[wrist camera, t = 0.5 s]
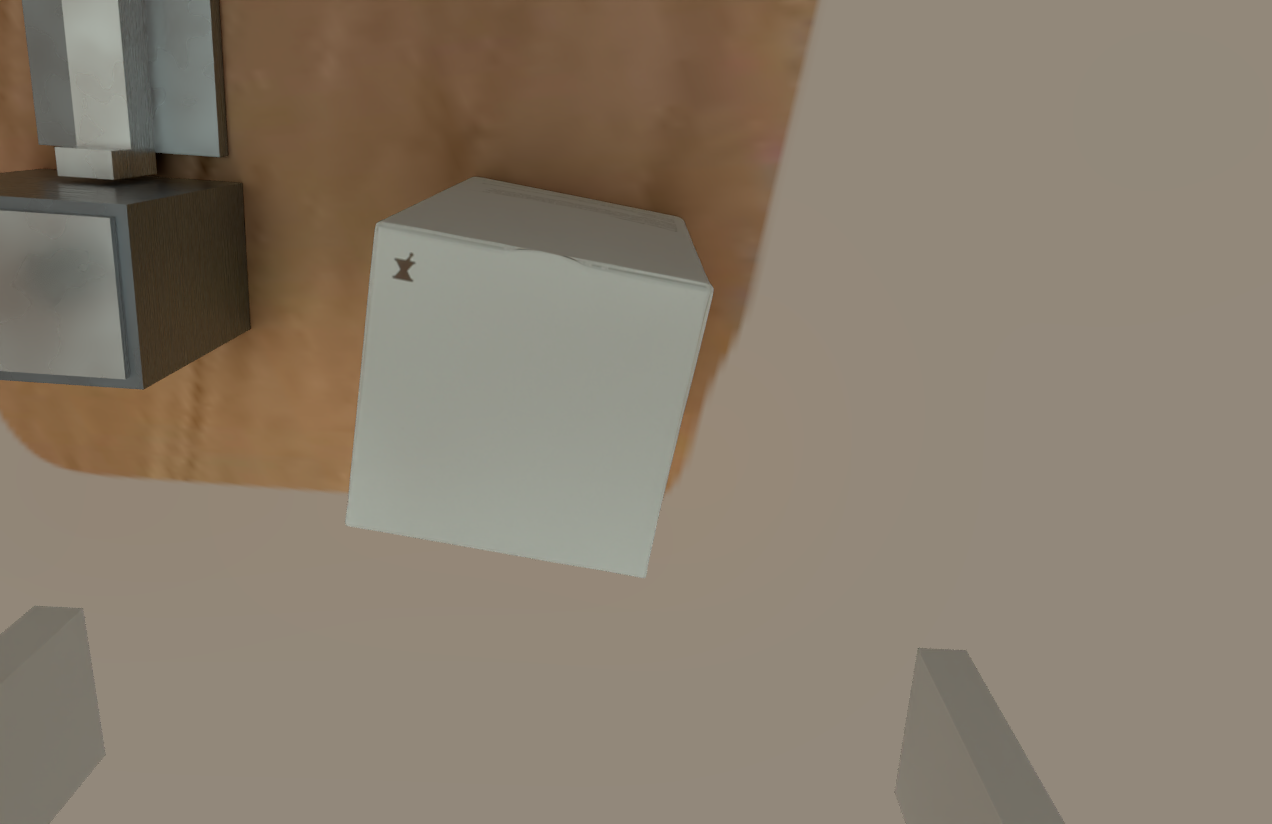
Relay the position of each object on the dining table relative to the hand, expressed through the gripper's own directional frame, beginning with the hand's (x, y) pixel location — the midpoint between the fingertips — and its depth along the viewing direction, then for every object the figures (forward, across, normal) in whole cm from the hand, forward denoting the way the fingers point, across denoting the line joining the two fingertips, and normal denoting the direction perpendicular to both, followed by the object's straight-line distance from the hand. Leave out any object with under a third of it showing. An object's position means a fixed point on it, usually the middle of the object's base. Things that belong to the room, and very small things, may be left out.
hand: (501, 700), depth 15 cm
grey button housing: (+26, -18, +2) cm, 32 cm away
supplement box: (+26, -1, +1) cm, 26 cm away
